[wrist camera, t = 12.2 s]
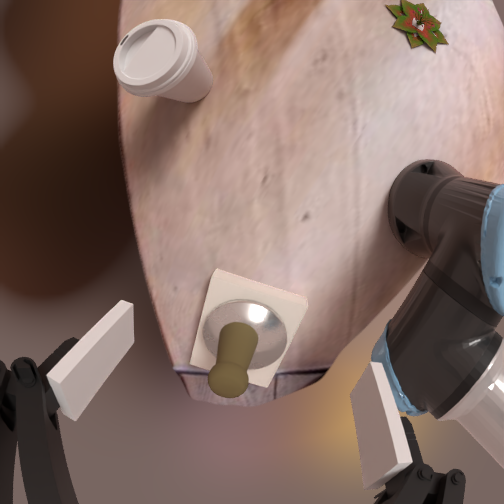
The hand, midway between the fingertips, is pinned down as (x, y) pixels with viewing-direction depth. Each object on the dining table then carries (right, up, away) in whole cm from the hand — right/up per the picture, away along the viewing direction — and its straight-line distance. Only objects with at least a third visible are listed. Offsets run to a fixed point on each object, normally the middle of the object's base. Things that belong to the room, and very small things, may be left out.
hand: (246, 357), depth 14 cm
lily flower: (+27, +43, +13) cm, 52 cm away
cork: (-2, -8, +28) cm, 29 cm away
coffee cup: (-9, +30, +21) cm, 38 cm away
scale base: (-1, -8, +33) cm, 34 cm away
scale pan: (-1, -7, +28) cm, 29 cm away
